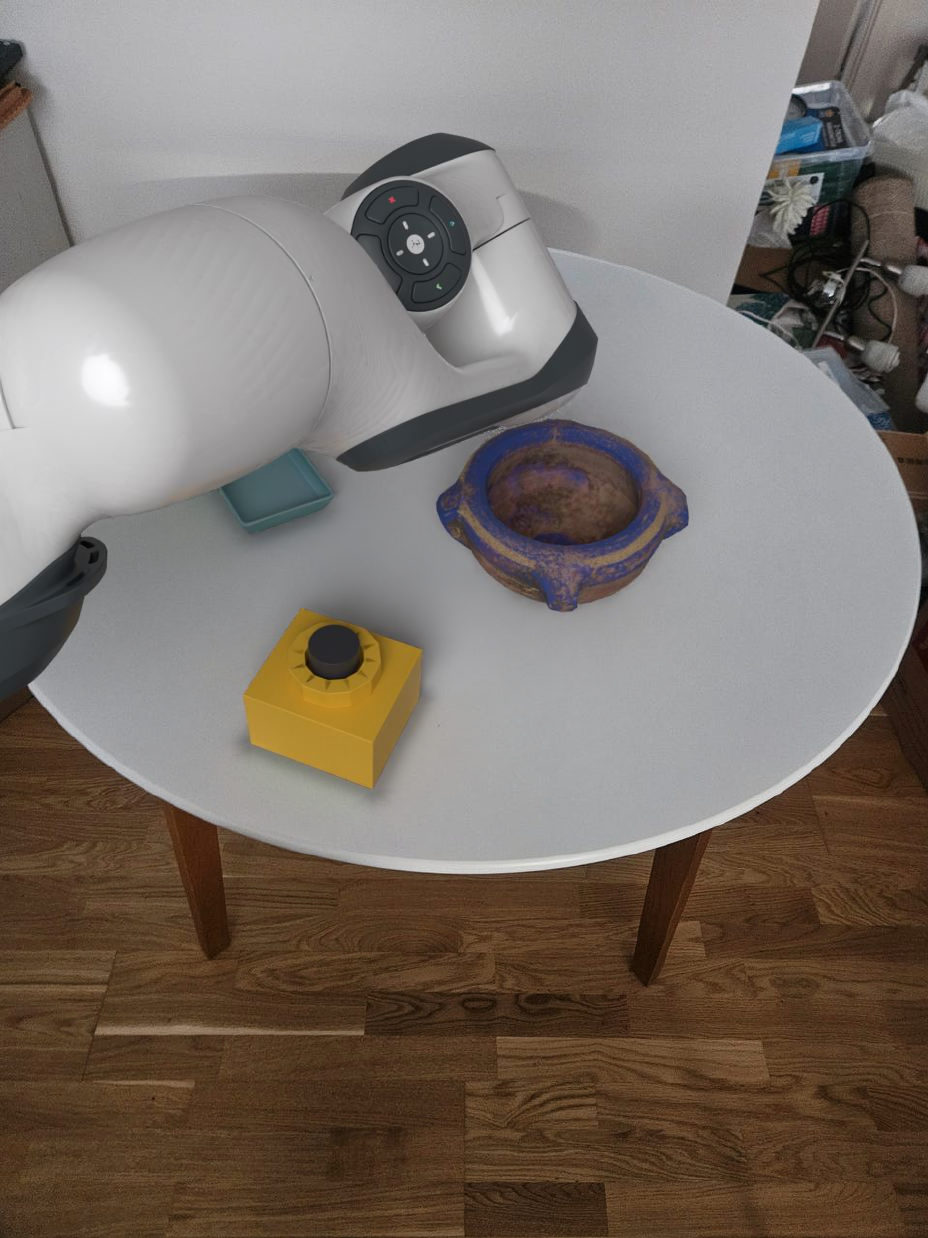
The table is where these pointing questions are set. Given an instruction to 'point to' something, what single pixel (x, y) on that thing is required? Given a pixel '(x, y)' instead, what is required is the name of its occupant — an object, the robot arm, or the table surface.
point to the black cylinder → (334, 651)
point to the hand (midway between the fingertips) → (232, 381)
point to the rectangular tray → (277, 492)
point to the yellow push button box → (334, 702)
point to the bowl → (562, 511)
